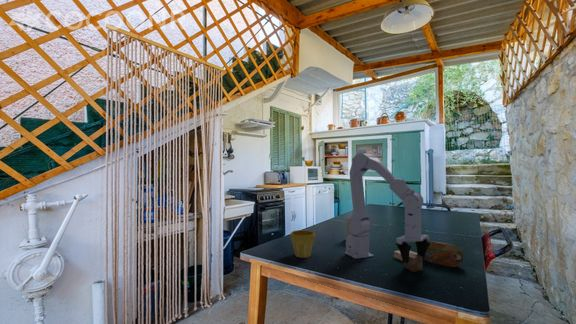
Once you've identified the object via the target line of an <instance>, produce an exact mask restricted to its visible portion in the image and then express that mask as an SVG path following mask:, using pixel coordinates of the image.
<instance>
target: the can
mask: <svg viewBox="0 0 576 324" xmlns="http://www.w3.org/2000/svg"><path fill="white" fill-rule="evenodd" d="M350 217H351V216H347V217H346V219H345V222H344V223H345V225H344V226H345V228H344V229H345V234H344V238H345V240H346V238H347V236H349V235H351V234H352V233H351V231H350V229H349V224H350Z"/></svg>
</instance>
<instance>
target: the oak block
mask: <svg viewBox="0 0 576 324" xmlns="http://www.w3.org/2000/svg"><path fill="white" fill-rule="evenodd" d="M410 253H414V254H416V255H417V252H415V251H412V250H410V252H409V254H410ZM393 258H394V259H396V260H398V261H402V262H403V260H402V256H401V253H400V251H399V249H398V250H393Z"/></svg>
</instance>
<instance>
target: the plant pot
mask: <svg viewBox="0 0 576 324" xmlns="http://www.w3.org/2000/svg"><path fill="white" fill-rule="evenodd" d="M315 238H316V233H315V232H314V231H312V230H305V229H299V230H292V231H291V232H290V241H291V242H292V247H293V251H294V256H295V257H296V258H301V259H305V258H306V259H307V258H310V257H311V255H312V254H311V253H312V249H313V247H314V243H315V241H316V239H315Z"/></svg>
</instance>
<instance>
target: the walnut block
mask: <svg viewBox="0 0 576 324" xmlns="http://www.w3.org/2000/svg"><path fill="white" fill-rule="evenodd" d="M403 268H404V269H406V270H409V271H411V272H420V271H423V261H422V256H419V255H416V254H414V253H410V254H409V262H408V263H405V262H403Z"/></svg>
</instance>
